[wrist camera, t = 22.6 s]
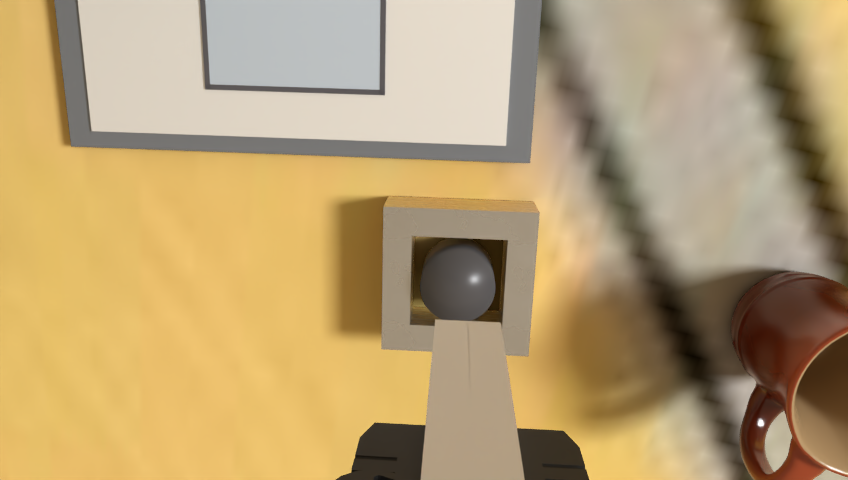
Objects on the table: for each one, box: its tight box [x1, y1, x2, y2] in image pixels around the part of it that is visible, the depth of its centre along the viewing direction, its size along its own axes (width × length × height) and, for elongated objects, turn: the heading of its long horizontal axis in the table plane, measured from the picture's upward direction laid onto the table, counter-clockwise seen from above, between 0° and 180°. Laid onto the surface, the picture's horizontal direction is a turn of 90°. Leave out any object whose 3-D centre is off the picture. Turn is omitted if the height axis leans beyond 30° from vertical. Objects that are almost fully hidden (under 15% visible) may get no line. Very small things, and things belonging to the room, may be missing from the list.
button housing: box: [382, 196, 539, 356], centre depth 41 cm, size 9×9×3 cm
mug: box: [731, 272, 848, 480], centre depth 38 cm, size 12×9×10 cm
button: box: [420, 238, 495, 321], centre depth 40 cm, size 4×4×3 cm
